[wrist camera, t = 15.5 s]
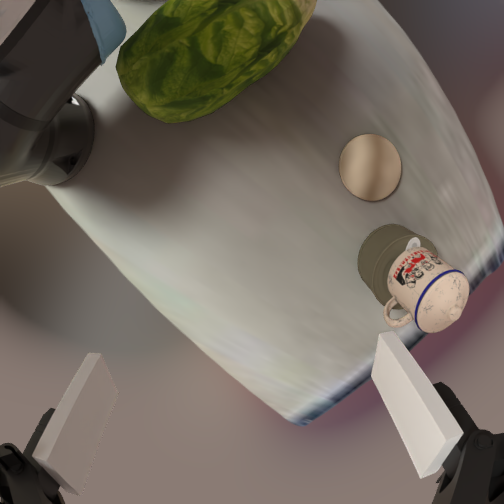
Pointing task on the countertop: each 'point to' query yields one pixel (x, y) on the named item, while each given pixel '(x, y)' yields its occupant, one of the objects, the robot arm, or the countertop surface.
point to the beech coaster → (370, 167)
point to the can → (386, 256)
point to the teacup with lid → (425, 290)
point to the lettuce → (206, 53)
